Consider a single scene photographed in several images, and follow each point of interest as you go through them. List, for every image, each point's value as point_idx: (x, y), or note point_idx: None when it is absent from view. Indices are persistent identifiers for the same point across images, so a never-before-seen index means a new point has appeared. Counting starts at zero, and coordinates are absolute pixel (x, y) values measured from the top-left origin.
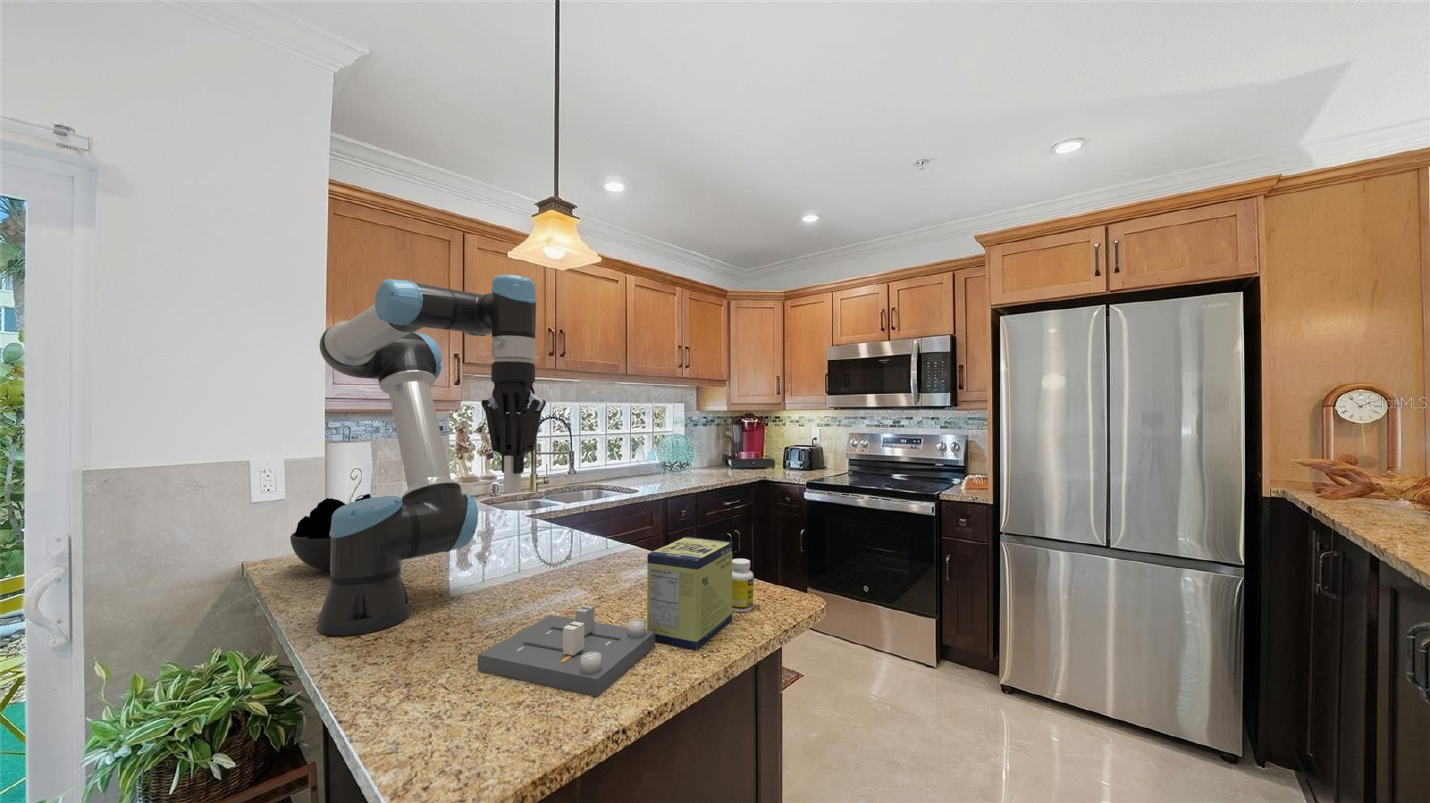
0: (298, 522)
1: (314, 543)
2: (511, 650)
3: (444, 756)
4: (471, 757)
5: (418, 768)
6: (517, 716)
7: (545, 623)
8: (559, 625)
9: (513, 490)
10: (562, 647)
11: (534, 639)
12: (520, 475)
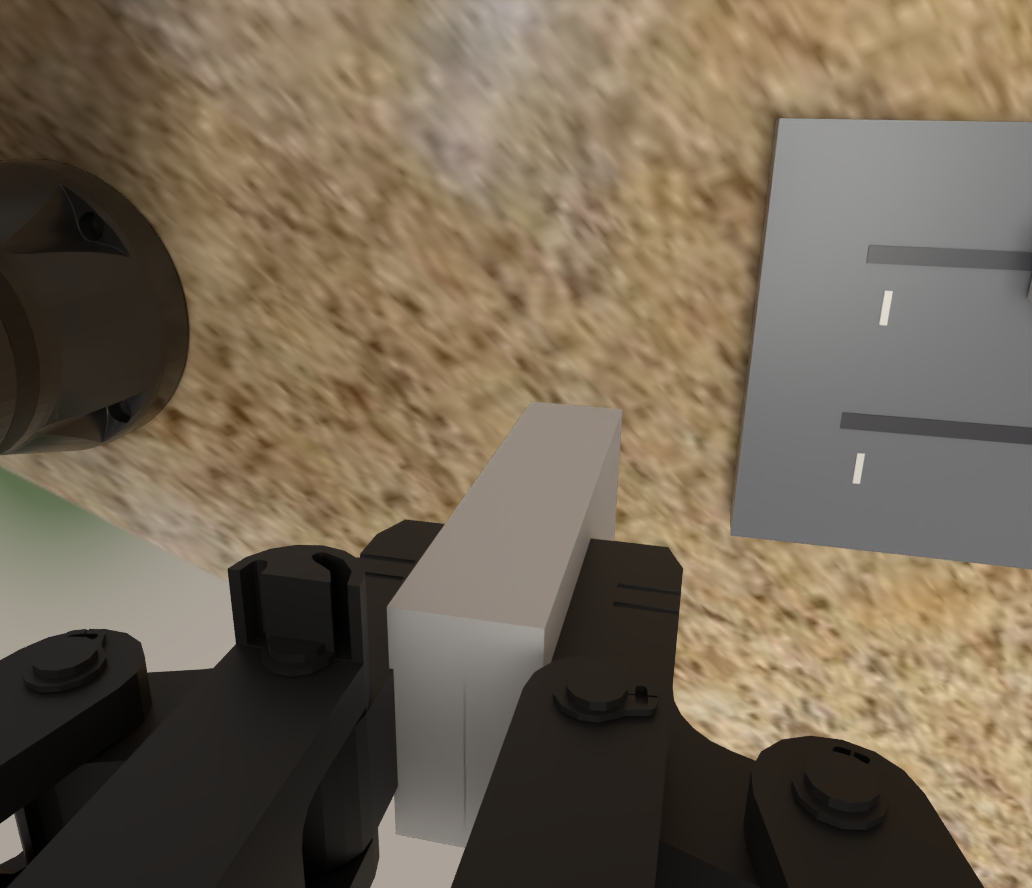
0: None
1: None
2: (829, 482)
3: None
4: (1007, 842)
5: None
6: (1025, 697)
7: (812, 219)
8: (892, 220)
9: (612, 525)
10: (1022, 412)
11: (861, 379)
12: (598, 484)
